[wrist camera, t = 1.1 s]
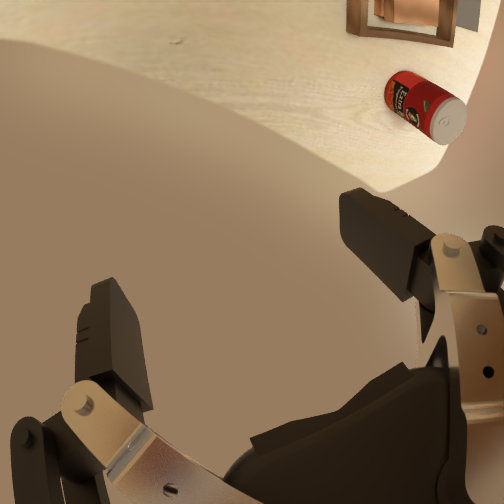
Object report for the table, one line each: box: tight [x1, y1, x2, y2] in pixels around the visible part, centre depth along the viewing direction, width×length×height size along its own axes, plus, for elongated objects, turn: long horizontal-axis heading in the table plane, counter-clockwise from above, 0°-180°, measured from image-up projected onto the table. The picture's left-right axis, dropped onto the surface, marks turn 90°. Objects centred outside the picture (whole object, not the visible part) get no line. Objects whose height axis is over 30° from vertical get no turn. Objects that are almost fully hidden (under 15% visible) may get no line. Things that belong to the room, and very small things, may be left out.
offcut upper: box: [384, 0, 439, 27], centre depth 27 cm, size 4×9×2 cm, turn 99°
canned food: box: [385, 71, 467, 145], centre depth 36 cm, size 8×8×11 cm
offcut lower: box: [374, 0, 384, 17], centre depth 28 cm, size 4×10×2 cm, turn 96°
